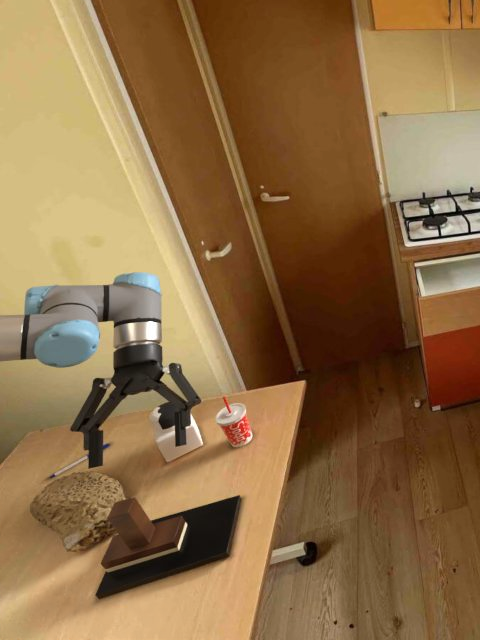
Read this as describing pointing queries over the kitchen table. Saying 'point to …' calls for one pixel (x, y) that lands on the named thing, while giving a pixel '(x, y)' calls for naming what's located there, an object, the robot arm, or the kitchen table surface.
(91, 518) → the sponge
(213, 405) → the kitchen table surface
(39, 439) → the kitchen table surface
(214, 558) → the panel
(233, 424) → the beverage cup
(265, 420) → the kitchen table surface
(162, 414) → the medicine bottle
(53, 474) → the ballpoint pen
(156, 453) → the kitchen table surface
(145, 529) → the brown block
